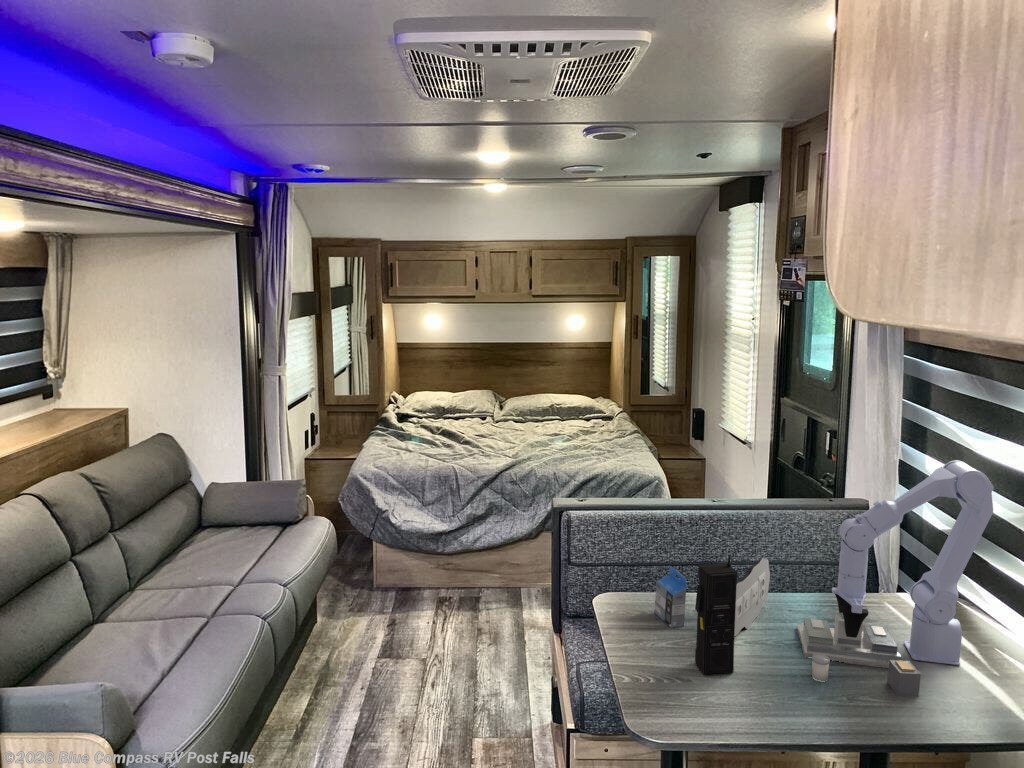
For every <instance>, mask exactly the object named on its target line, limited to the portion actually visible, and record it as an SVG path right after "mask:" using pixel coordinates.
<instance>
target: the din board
mask: <svg viewBox="0 0 1024 768" xmlns="http://www.w3.org/2000/svg"><path fill="white" fill-rule="evenodd" d="M796 630H797V634H798V637H799V640H800V641H801V642H800V641H799V642H800V645H802V646H801V648H802V649H803V650H802V653H803V652H804V654H803V657H804V656H805V657H812V655H814V654H823V655H825V656H827V657H829V659H830V660H833V661H839V662H838V663H841V662H844V663H843V664H851V665H858V666H866V667H874V668H881V667H882V669H889V660H898V661H903V660H902V655H901V654H900V652H898V645H897V643H896V641H895V639H894V638H893V635H892V633H891V631H890V629H889V627H888V626H887V627H885V626H876V625H870V624H869V625H868V624H864V625H863V631H862V638H861V648H856V647H848V646H839V645H837V644H836V642H835V639H834V627H830V626H829V623H828V620H827V619H826V620H823V619H817V618H816V619H814V618H807V617H804V618H803V624H801V623H797V625H796ZM833 661H832V662H833Z"/></svg>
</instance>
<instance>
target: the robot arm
mask: <svg viewBox="0 0 1024 768" xmlns="http://www.w3.org/2000/svg"><path fill="white" fill-rule="evenodd" d="M994 489H995V487H994V485H993V483H992V482H991V481H990V479H989V477H988V476H987V475H986V474H985V473H984V472H982V471H980V470H978V469H976V468H974V467H972V466H970V465H969V464H967V462H964V460H962V461H961V460H951V461H948V462H947V463H945V464H944V465H943V466H941V467H937V468H936V469H935V470H934V471H933V472H932V473H931V474H930V475H929V476H928V477H926V478H924V480H922V481H921V482H918V483H917V484H916V485H915V486H913V487H912V488H910V489H909V490H908V491H906V492H904V493H902V495H899V496H898V497H897V498H896V499H894V500H882V501H881V502H880V501H879V500H877V501H875V502H874V503H873V506H872V507H871V508H869V509H868V510H865V511H864V512H863V513H861V514H859V513H858V514H856V515H855V516H854V517H855V518H854V517H853V518H847V519H845V520H844V521H843V522H842V523H841V525H840V526H839V527H838V528H837V533H838V535H839V537H840V538H841V540H840V541H841V542H840V551H839V561H838V562H839V563H838V574H837V575H838V577H837V579H838V580H837V587H832V588H831V593H832V594H834V595H835V598H836V601H837V606H838V613H843V616H844V623H845V633H846V636H847V637H853V638H856V637H857V635H858V633H859V630H860V627H861V624H862V623H863V622H864V621H865V619H866V618H867V617H868V616H869V610H868V609H867V608H863V603H864V602H865V600H866V598H867V592H866V590H867V589H866V586H867V575H868V563H869V562H868V561H869V549H870V548H871V547H872V546H873V544H874V543H875V539H877V538H878V537H879V536H882V535H883V534H885V533H886V532H889V530H891V529H893V528H894V527H896V526H898V525H901V524H902V522H903V520H904V516H905V514H907V513H909V512H911V511H913V510H915V509H917V508H919V507H920V506H923V505H924V504H926V503H928V502H930V501H932V500H933V499H936V498H937V497H938V498H939V497H941V498H942V497H943V498H952V499H957V501H958V503H959V505H960V507H961V510H960V511H959V513H958V516H957V518H956V520H955V522H954V524H953V526H952V528H951V530H950V532H949V534H948V536H947V539H946V540H945V542H944V544H943V546H942V548H941V550H940V551H939V554H938V556H937V558H936V560H935V562H934V564H933V566H932V567H931V570H929V571H926V572H924V573H923V574H922V576H921V577H920V579H919V580H918V581H917V582H915V583H914V584H913V585H912V586H911V588H910V592H909V596H910V598H911V600H912V602H913V603H914V608H913V609H912V616H911V618H912V619H911V626H910V627H911V629H910V639H909V640H905V641H903V644H904V646H905V648H906V649H907V651H908V654H909V655H910V657H911V659H912V660H915V661H921V662H930V663H937V664H945V665H952V666H960V665H961V662H960V660H961V659H960V657H961V648H962V640H963V635H962V634H963V631H962V626H961V623H960V620H958V619H957V618H954V617H955V615H956V612H957V608H956V607H957V601H958V599H959V590H958V583H959V580H960V578H961V576H962V574H963V573H964V571H965V569H966V567H967V564H968V563H969V560H970V559H971V557H972V555H973V553H974V551H975V549H976V547H977V546H978V543H979V541H980V539H981V537H982V535H983V533H984V531H985V529H986V527H987V525H988V524H989V521H990V520H991V518H992V516H993V513H994V503H993V502H994V501H993V495H992V493H993V490H994Z"/></svg>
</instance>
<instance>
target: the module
mask: <svg viewBox="0 0 1024 768" xmlns="http://www.w3.org/2000/svg"><path fill="white" fill-rule="evenodd" d="M863 627H864V625H863V622H862V624H861V627H860V630H859V633H858V635H857V637H856V638H853V637H847V636H846V633H845V623H844V616H843V613H839V612H835V616H834V627H833V628H834V639H835V642H836V644H837V645H839V646H848V647H856V648H861V638H862V632H863Z"/></svg>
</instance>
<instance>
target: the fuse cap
mask: <svg viewBox="0 0 1024 768" xmlns="http://www.w3.org/2000/svg"><path fill="white" fill-rule="evenodd" d="M811 660H812V663H811V675H812V677H814V678H815V679H817V680H821V681H826V680H829V667H830V663H831V661H830V659H829V657H827V656H825V655H823V654H814V655H812V659H811ZM812 677H811V678H812Z"/></svg>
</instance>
